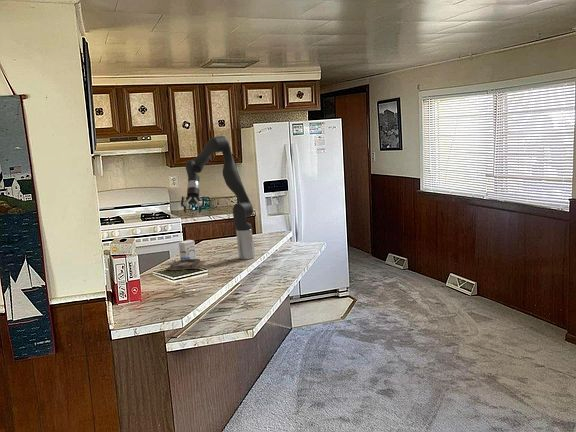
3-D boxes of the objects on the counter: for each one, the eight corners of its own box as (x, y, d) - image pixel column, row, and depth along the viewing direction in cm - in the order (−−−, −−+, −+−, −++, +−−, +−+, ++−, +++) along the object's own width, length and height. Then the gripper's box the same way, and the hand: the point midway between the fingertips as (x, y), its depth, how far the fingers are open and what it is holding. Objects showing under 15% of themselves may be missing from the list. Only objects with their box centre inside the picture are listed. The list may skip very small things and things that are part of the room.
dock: (205, 262, 311) (205, 256, 311) (196, 269, 294) (195, 263, 293) (176, 263, 314) (176, 257, 313) (165, 271, 296) (164, 264, 296)
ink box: (185, 262, 315) (183, 242, 314) (180, 261, 318) (178, 242, 317) (196, 259, 322) (194, 240, 320) (191, 258, 325) (189, 239, 323)
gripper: (181, 186, 326) (180, 209, 319) (204, 186, 328) (204, 210, 321) (181, 191, 332) (180, 215, 325) (204, 192, 334) (204, 215, 327)
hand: (192, 212), depth 323 cm, fingers open, 8 cm apart
